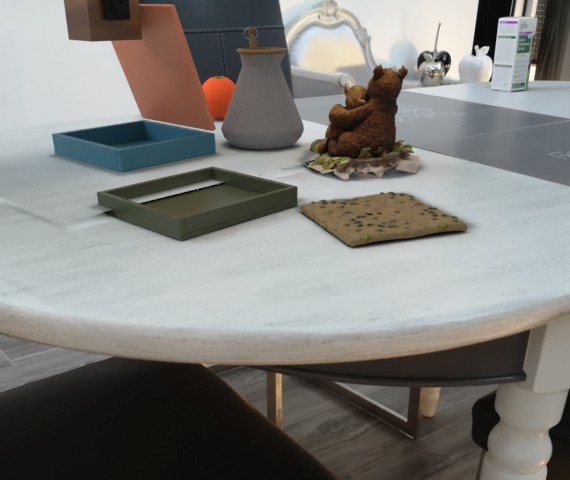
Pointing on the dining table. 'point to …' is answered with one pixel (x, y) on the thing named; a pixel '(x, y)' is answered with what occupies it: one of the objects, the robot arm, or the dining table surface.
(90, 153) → the tray
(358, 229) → the cookie
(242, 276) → the dining table surface
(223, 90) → the clementine
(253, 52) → the grey lidded jar
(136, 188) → the tray
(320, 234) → the dining table surface
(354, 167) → the bear figurine
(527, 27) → the syrup box
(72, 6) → the block
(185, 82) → the lunchbox lid
